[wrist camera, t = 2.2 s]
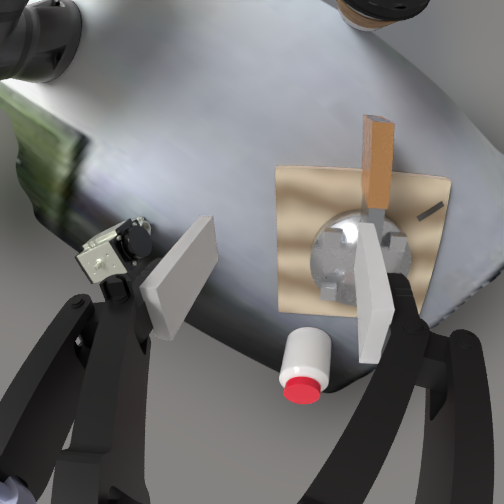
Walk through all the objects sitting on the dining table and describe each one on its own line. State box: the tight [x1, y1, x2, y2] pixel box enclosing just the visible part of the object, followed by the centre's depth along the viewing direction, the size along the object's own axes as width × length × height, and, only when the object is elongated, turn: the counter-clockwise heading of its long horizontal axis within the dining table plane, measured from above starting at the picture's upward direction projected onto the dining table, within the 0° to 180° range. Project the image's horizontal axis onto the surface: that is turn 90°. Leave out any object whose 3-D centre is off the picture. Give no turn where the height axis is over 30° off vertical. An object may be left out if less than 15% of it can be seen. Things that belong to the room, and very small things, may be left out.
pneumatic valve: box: [75, 216, 153, 284], centre depth 42 cm, size 6×12×12 cm, turn 114°
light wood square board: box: [275, 165, 451, 317], centre depth 40 cm, size 22×22×2 cm
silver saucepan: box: [310, 115, 411, 306], centre depth 33 cm, size 24×13×8 cm, turn 3°
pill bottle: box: [279, 327, 331, 404], centre depth 47 cm, size 8×8×11 cm
